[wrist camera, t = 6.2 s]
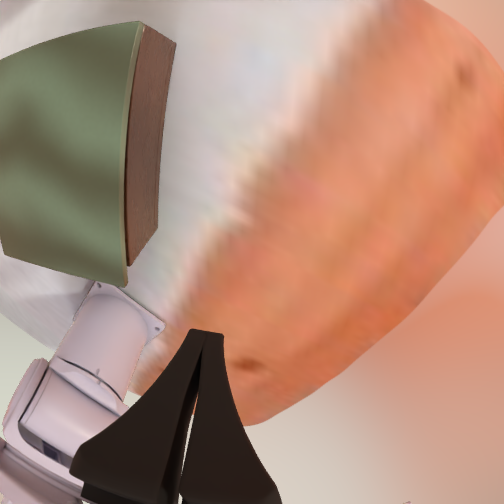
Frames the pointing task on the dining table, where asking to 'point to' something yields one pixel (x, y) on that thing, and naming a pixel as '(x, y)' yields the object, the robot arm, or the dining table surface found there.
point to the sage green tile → (67, 151)
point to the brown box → (145, 139)
